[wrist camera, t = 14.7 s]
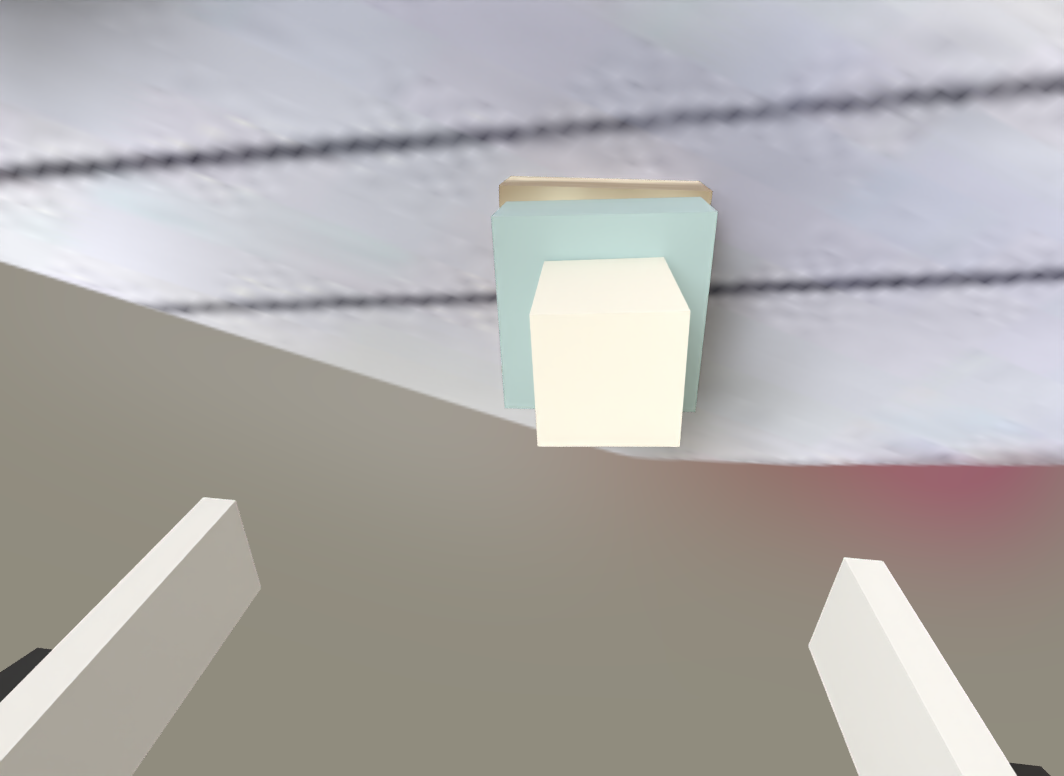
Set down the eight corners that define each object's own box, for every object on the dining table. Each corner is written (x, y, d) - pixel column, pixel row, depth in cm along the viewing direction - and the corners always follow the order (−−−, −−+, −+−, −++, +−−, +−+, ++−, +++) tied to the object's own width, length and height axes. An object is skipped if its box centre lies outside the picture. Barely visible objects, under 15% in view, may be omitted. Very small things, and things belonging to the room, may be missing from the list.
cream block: (544, 261, 28) (529, 314, 21) (663, 256, 27) (690, 311, 20) (549, 367, 31) (537, 446, 23) (657, 365, 30) (679, 446, 23)
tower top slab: (506, 201, 32) (491, 216, 27) (700, 196, 30) (717, 211, 26) (516, 371, 37) (504, 408, 32) (683, 374, 35) (695, 412, 31)
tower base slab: (511, 175, 36) (499, 185, 31) (698, 180, 35) (712, 191, 30) (512, 344, 41) (501, 372, 37) (673, 353, 40) (682, 383, 36)
